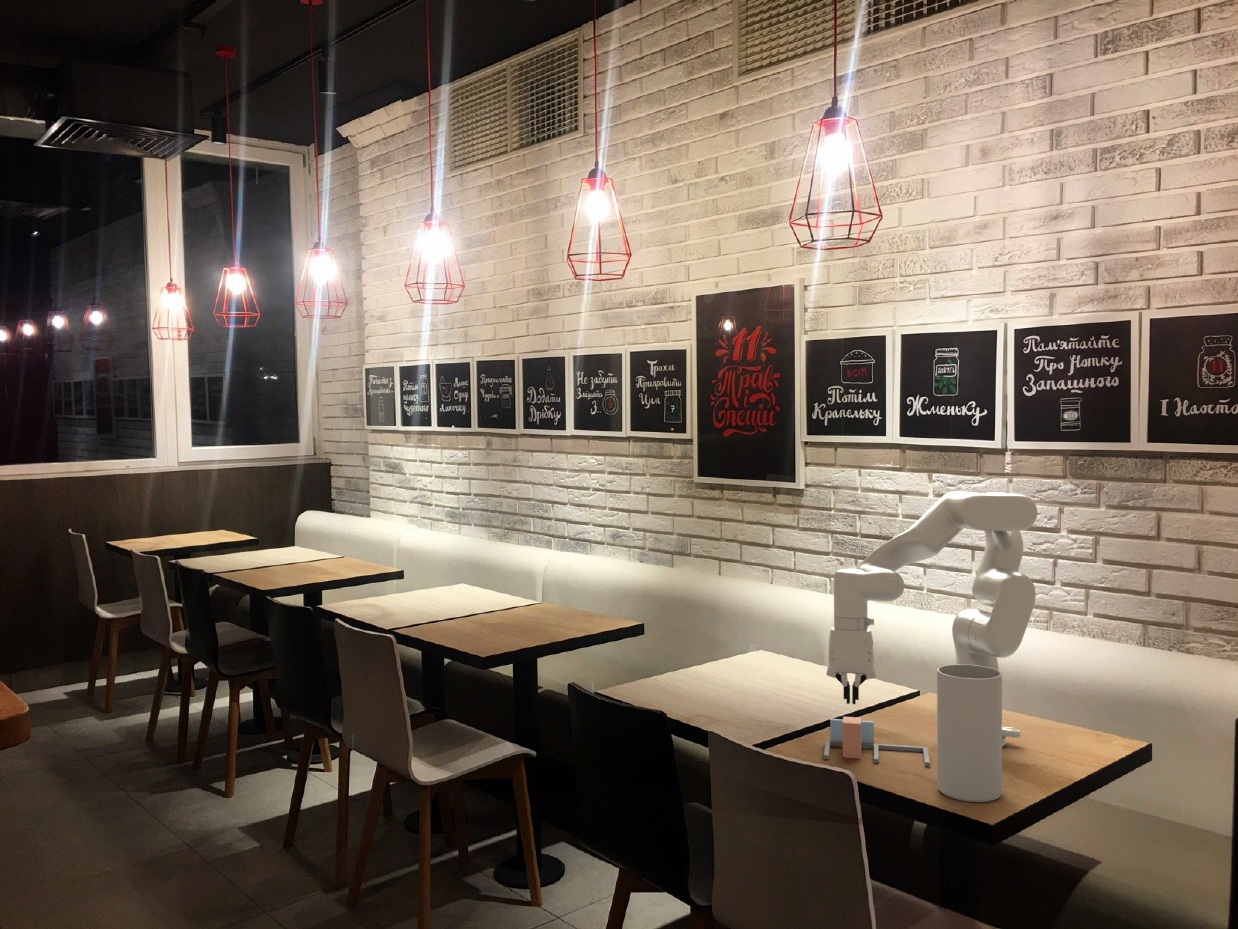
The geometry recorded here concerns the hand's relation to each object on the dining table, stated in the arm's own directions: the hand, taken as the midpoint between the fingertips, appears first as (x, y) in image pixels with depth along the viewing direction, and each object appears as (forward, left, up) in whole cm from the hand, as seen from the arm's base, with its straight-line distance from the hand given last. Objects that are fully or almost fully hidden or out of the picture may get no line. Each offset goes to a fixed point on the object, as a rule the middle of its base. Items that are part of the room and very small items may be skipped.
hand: (851, 702), depth 223 cm
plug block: (0, 0, -12) cm, 12 cm away
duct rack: (-5, 0, -12) cm, 13 cm away
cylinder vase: (-24, +19, -12) cm, 33 cm away
